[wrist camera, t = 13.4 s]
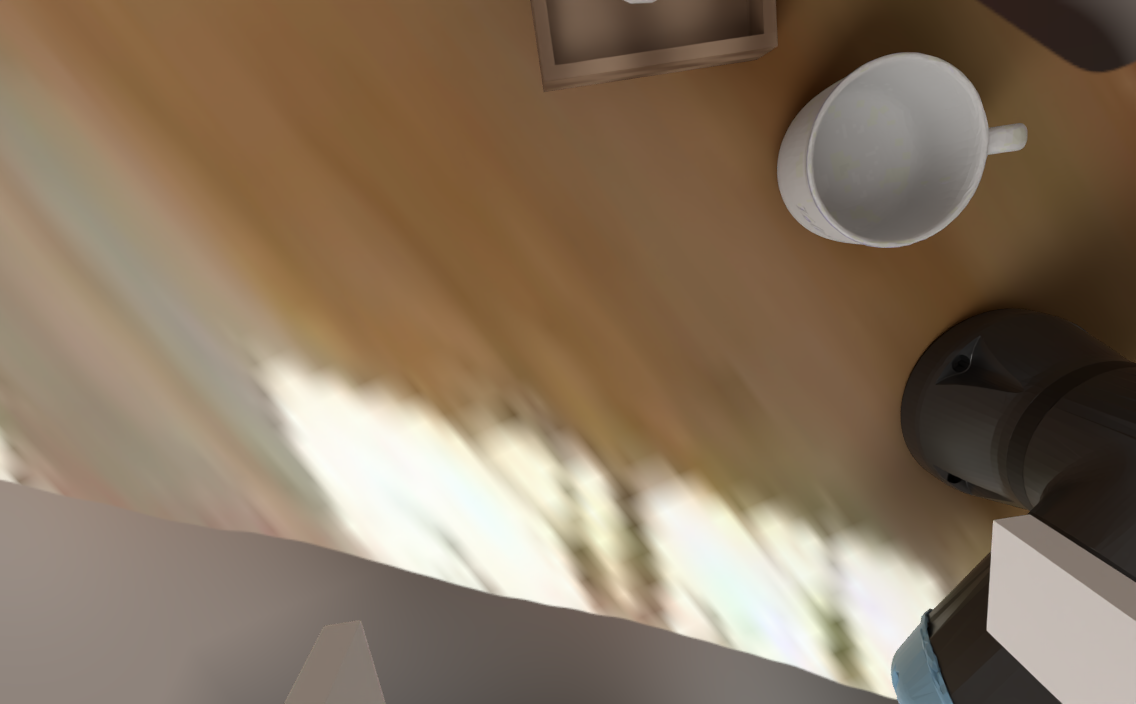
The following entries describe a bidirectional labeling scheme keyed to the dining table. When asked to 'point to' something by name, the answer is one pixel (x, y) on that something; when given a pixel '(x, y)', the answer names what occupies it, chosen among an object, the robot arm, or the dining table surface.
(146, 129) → the dining table surface
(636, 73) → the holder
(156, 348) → the dining table surface
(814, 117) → the teacup
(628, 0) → the foam cup
